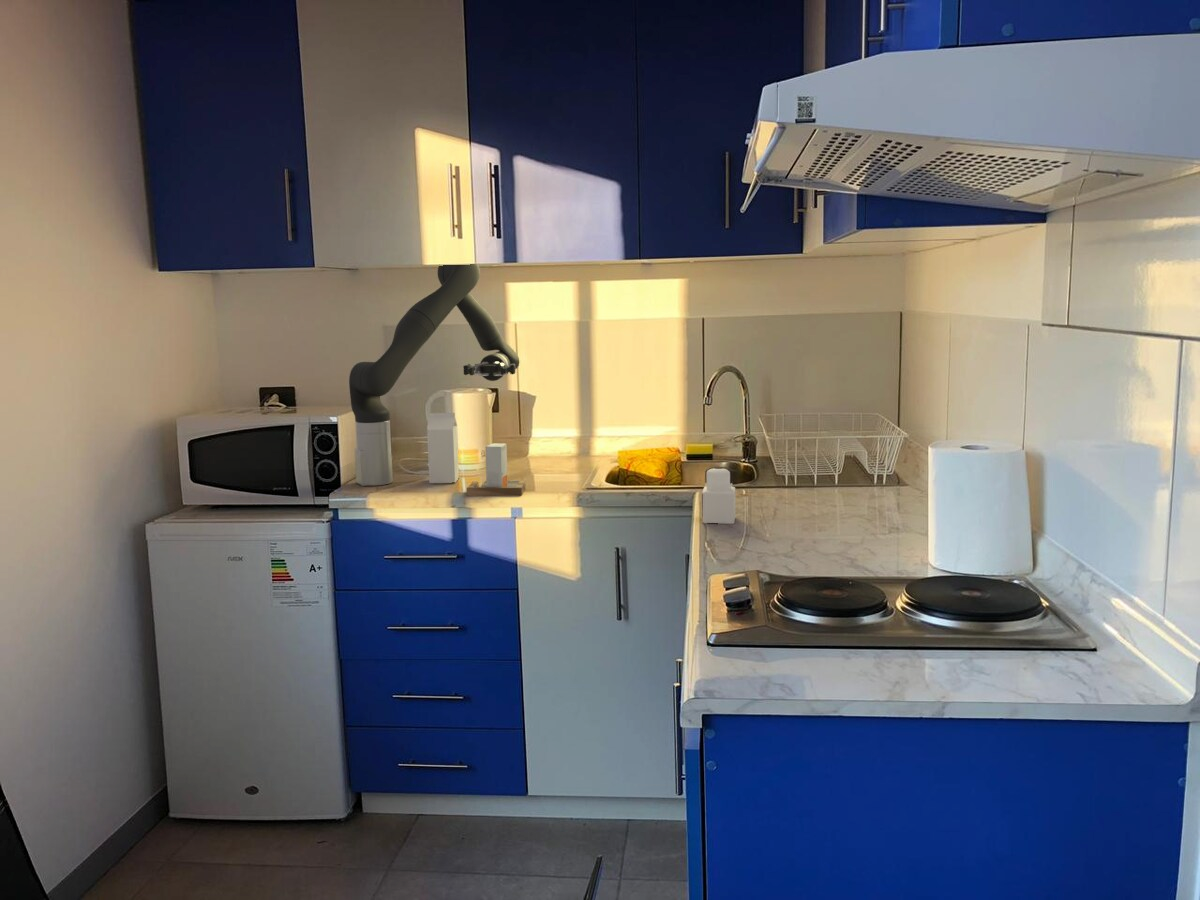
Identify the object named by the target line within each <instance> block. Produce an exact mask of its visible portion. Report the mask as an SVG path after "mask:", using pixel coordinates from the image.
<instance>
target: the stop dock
mask: <svg viewBox="0 0 1200 900" xmlns="http://www.w3.org/2000/svg"><path fill="white" fill-rule="evenodd" d="M507 486H508V487H487V484H486V480H485V481H484V482H483V483H482V484H481V486H479V481H477V480H476V481H472V482H471V483H470V484H469V485H468V486H467V487H466V496H467V497H482V496H483V497H487V496H488V497H490V496H491V497H492V496H493V497H496V496H497V497H501V496H502V497H503V496H504V497H505V496H506V497H507V496H509V497H511V496H522V495H523V494H524V492H525V491H526V481H525V480H507Z"/></svg>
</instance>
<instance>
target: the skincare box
mask: <svg viewBox="0 0 1200 900" xmlns="http://www.w3.org/2000/svg"><path fill="white" fill-rule="evenodd" d="M507 449H508V447H507V443H495V442H493V443H490V444H488V445H486V446H485V473H486V474H485V475H486V476H485V477H486V480H485V481H486V484H487V487H508V486H507V481H508V450H507Z"/></svg>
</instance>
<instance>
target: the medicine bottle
mask: <svg viewBox="0 0 1200 900" xmlns="http://www.w3.org/2000/svg"><path fill="white" fill-rule="evenodd" d="M704 472H705V473H704V475H705V476H704V478H705V479H704V480H705V481H704V483H705V485H704V486H703V490H702V491H701V523H702V522H704V523H703V524H707V523H718V525H719V524H720V525H734V524H735V521H736V487H735V486H733V470H732V469H731V468H729V467H726V466H712V467H709V468H707V469H706V470H705V471H704Z"/></svg>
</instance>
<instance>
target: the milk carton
mask: <svg viewBox="0 0 1200 900" xmlns="http://www.w3.org/2000/svg"><path fill="white" fill-rule="evenodd" d="M455 413H456V412H429V413H428V421H427V426H426V434H427V435H426V436H427V439H426V441H427V456H428V457H427V458H428V460H427V464H428V482H429V484H453V483H452V482H455V483H456V482H457V481H458V480H459V479H460V470H459V469H460V468H459V464H460V463H459V442H458V441H459V439H458V424H457V420H456V417H455V416H456V414H455ZM458 478H459V479H458Z"/></svg>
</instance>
